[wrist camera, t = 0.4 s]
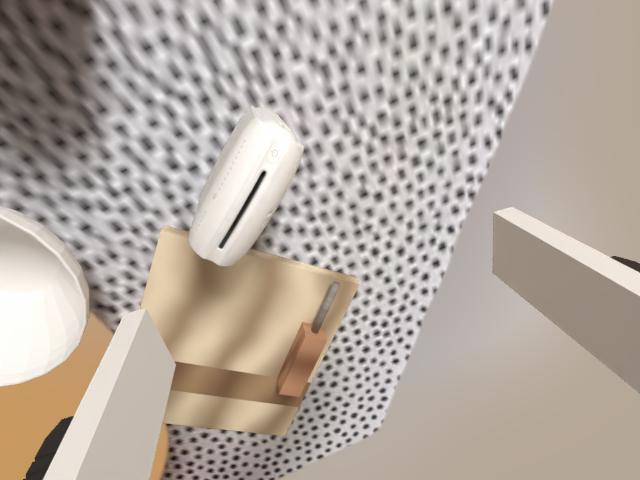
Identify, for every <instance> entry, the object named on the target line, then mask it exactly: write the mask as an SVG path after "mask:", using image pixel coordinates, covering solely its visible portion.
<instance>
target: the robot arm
mask: <svg viewBox="0 0 640 480" xmlns="http://www.w3.org/2000/svg"><path fill="white" fill-rule="evenodd" d="M493 273H494V274H495V275H496V276H497V277H498V278H500V279H501V280H502V281H503V282H504V283H506V284H507V285H508V286H509V287H510V288H512V289H513V290H514V291H515V292H517V293H518V294H519V295H520V296H521V297H523V298H524V299H525V300H526V301H528V302H529V303H530V304H531V305H532V306H534V307H535V308H536V309H537V310H539V311H540V312H541V313H542V314H543V315H545V316H546V317H547V318H548V319H549V320H551V321H552V322H553V323H554V324H556V325H557V326H558V327H559V328H561V329H562V330H563V331H564V332H566V333H567V334H568V335H569V336H571V337H572V338H573V339H574V340H575V341H576V342H578V343H579V344H580V345H581V346H582V347H584V348H585V349H586V350H587V351H589V352H590V353H591V354H592V355H593V356H595V357H596V358H597V359H598V360H599V361H601V362H602V363H603V364H604V365H606V366H607V367H608V368H609V369H611V370H612V371H613V372H614V373H615V374H617V375H618V376H619V377H620V378H622V379H623V380H624V381H625V382H626V383H628V384H629V385H630V386H631V387H632V388H634V389H635V390H636V391H637V392H639V393H640V264H639V263H637V262H635V261H631V260H628V259H624V258H620V257H616V256H612V257H608V256H606V255H604V254H602V253H600V252H599V251H597V250H595V249H593V248H591V247H589V246H587V245H585V244H583V243H581V242H579V241H577V240H575V239H573V238H571V237H569V236H567V235H565V234H563V233H561V232H560V231H558V230H556V229H554V228H552V227H550V226H548V225H546V224H544V223H542V222H540V221H538V220H536V219H534V218H532V217H530V216H528V215H526V214H525V213H523V212H521V211H519V210H516V209H515V208H513V207H510V208H507V209H503V210H500V211H496V212H493ZM175 367H176V364H175V362H174V360H173V358H172V356H171V354H170V352H169V351H168V349H167V347H166V345H165V343H164V341H163V339H162V337H161V335H160V333H159V331H158V330H157V328H156V326H155V324H154V322H153V320H152V318H151V316H150V314H149V312H148V310H147V309H146V308H145V309H141V310H137V311H134V312H130V313H127V314H124V316H123V318H122V320H121V322H120V324H119V326H118V328H117V330H116V332H115V334H114V336H113V338H112V340H111V342H110V344H109V346H108V348H107V350H106V352H105V354H104V357H103V359H102V360H101V363H100V365H99V367H98V369H97V371H96V373H95V375H94V377H93V379H92V381H91V383H90V385H89V387H88V389H87V391H86V393H85V395H84V397H83V399H82V401H81V403H80V405H79V407H78V409H77V411H76V414H75V415H74V416H72V417H69V418H65V419H62V420H61V421H60V422H59V424H58V425H57V426H56V427H55V428H54V429H53V430H52V431H51V433H50V434H49V435H48V436H47V437H46V438H45V440H44V442H43V444H42V446H41V448H40V449H39V451H38V453H37V455H36V457H35V462H32V464H31V466H30V468H29V470H28V472H27V473H26V479H23V480H149V478H150V473H151V470H152V465H153V461H154V456H155V452H156V448H157V444H158V440H159V435H160V431H161V427H162V422H163V418H164V414H165V410H166V405H167V401H168V397H169V392H170V388H171V384H172V379H173V375H174V371H175Z"/></svg>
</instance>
